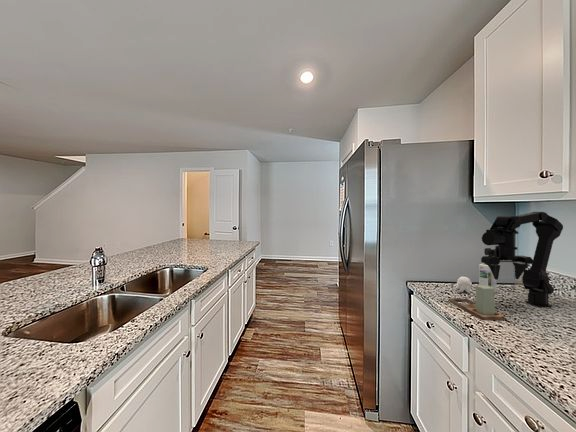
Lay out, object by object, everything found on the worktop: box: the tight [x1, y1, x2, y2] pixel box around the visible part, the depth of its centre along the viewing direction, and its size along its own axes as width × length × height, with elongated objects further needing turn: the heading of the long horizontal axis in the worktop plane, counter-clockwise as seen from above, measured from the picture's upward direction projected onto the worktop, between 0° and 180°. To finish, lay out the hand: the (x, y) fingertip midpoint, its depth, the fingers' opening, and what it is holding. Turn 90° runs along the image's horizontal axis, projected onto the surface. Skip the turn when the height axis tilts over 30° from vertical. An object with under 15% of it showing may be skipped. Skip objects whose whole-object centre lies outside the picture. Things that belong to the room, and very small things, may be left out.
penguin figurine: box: [456, 275, 473, 294], centre depth 142 cm, size 6×8×12 cm
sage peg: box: [475, 284, 496, 316], centre depth 109 cm, size 4×4×12 cm
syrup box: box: [478, 263, 497, 293], centre depth 140 cm, size 6×6×14 cm
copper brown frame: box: [448, 297, 506, 321], centre depth 115 cm, size 9×22×1 cm, turn 0°
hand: (506, 279), depth 115 cm, fingers open, 9 cm apart
